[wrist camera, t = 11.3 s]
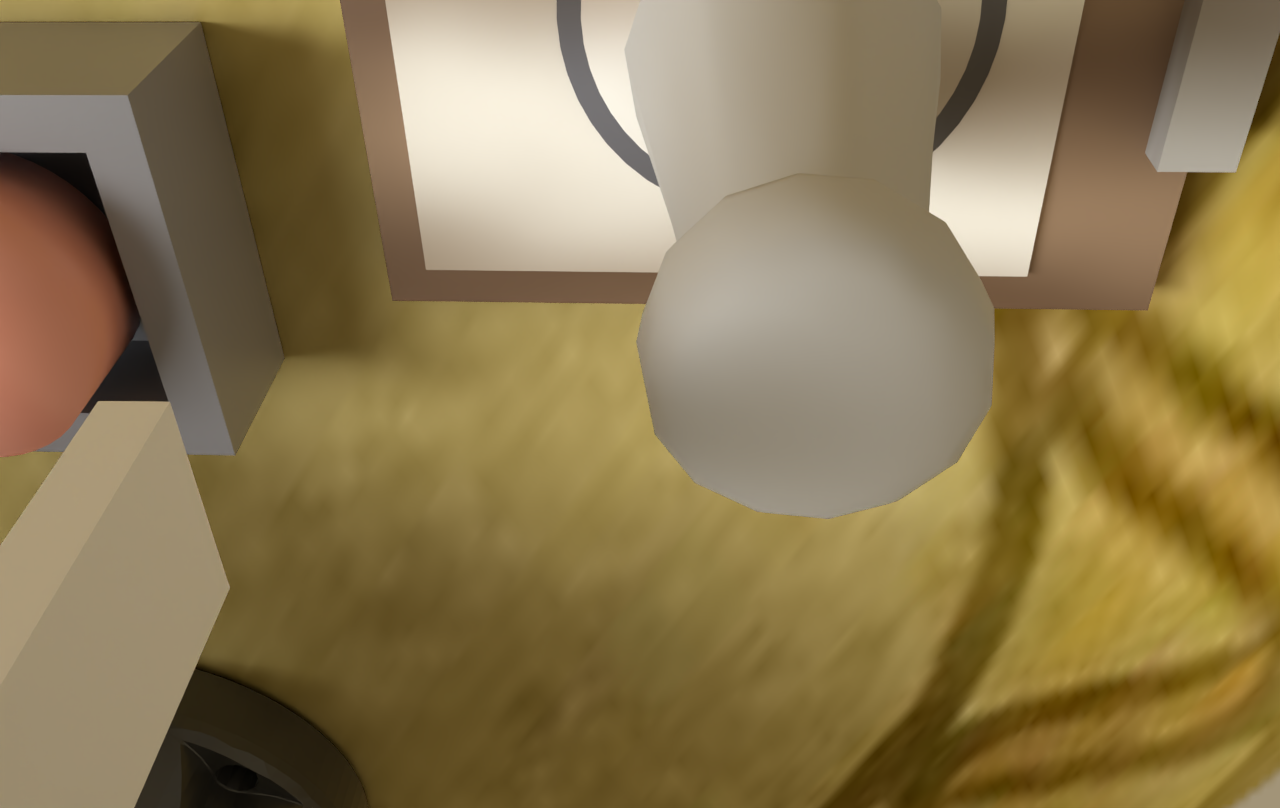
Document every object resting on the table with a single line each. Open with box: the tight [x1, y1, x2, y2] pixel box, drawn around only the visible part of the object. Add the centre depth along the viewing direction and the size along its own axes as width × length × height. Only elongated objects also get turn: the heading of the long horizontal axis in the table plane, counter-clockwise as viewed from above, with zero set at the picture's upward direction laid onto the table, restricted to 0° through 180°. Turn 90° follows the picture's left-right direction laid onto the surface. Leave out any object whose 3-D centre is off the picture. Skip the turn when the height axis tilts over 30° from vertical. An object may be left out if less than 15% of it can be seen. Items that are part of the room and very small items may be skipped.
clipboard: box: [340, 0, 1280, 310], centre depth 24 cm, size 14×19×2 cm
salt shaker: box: [624, 0, 994, 519], centre depth 19 cm, size 6×6×13 cm
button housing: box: [0, 22, 285, 455], centre depth 27 cm, size 9×9×4 cm
